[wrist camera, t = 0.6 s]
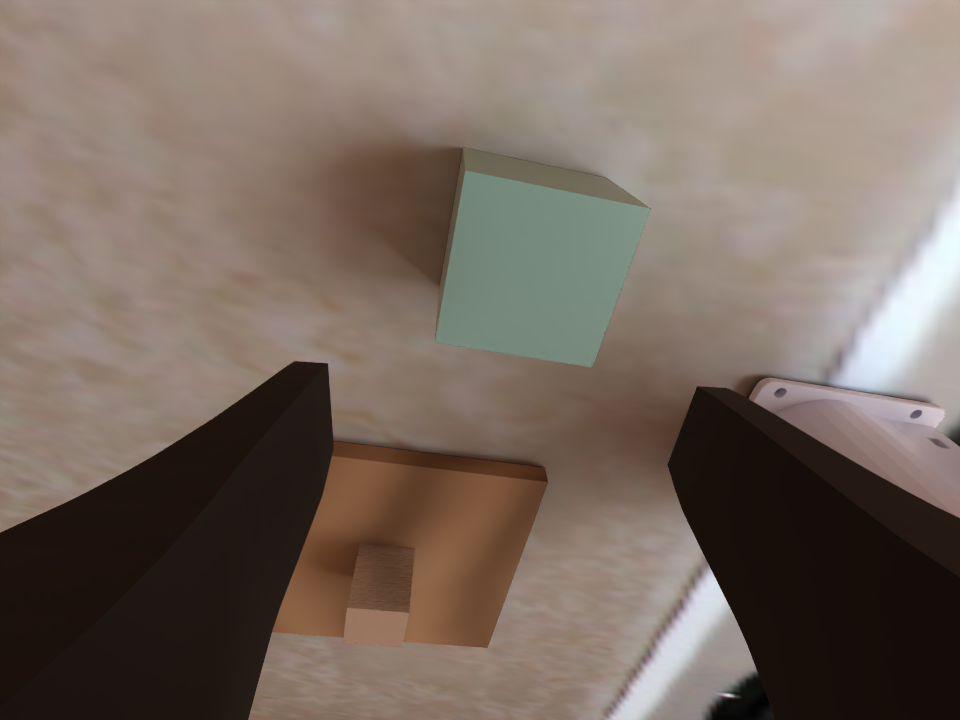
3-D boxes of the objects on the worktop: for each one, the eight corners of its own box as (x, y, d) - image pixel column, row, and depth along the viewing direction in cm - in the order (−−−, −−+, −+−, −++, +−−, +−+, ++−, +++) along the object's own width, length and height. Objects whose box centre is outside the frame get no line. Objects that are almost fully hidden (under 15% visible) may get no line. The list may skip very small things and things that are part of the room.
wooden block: (414, 548, 25) (409, 612, 22) (408, 582, 27) (401, 647, 24) (360, 542, 25) (346, 607, 22) (356, 577, 26) (342, 643, 23)
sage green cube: (607, 178, 17) (650, 208, 14) (566, 310, 20) (592, 367, 16) (463, 147, 17) (465, 170, 13) (439, 288, 19) (434, 342, 15)
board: (544, 467, 24) (548, 482, 23) (486, 631, 31) (487, 647, 30) (249, 430, 22) (240, 444, 22) (256, 614, 29) (250, 630, 28)
